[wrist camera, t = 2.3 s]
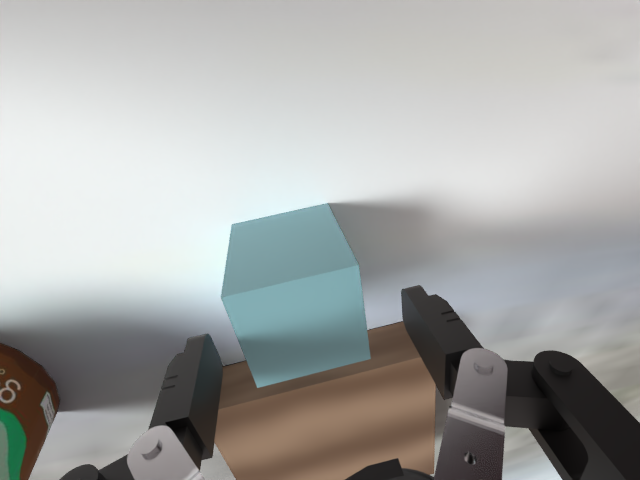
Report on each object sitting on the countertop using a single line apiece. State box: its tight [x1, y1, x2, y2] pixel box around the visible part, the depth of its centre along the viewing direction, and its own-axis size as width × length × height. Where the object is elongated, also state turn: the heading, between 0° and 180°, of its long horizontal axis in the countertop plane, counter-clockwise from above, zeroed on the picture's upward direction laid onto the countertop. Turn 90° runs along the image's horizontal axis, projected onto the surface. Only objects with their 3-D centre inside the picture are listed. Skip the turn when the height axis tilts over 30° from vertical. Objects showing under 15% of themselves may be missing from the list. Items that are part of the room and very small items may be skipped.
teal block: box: [221, 203, 371, 388], centre depth 16 cm, size 5×5×6 cm
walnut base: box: [214, 322, 436, 480], centre depth 24 cm, size 14×14×3 cm
